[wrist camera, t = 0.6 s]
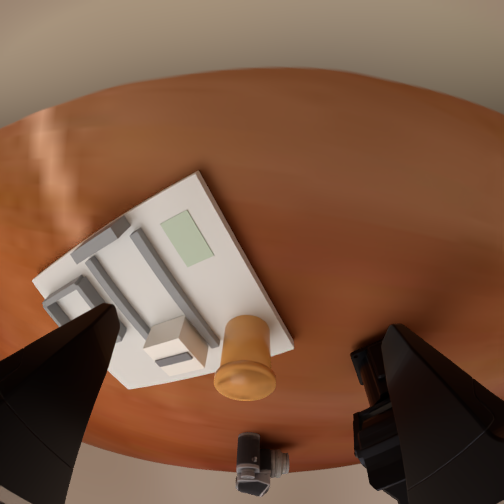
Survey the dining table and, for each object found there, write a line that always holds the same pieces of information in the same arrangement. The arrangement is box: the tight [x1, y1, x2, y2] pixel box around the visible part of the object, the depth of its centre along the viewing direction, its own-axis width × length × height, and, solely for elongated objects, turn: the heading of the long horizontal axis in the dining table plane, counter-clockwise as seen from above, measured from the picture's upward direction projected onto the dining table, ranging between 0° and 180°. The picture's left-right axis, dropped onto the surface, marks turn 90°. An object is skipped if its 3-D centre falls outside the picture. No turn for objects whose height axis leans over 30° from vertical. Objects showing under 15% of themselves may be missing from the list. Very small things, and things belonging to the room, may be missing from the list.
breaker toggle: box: [143, 315, 209, 376], centre depth 24 cm, size 4×4×3 cm
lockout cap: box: [214, 315, 276, 401], centre depth 22 cm, size 5×5×6 cm
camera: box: [236, 432, 289, 497], centre depth 35 cm, size 16×8×10 cm, turn 178°
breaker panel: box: [32, 170, 294, 389], centre depth 24 cm, size 18×22×4 cm
